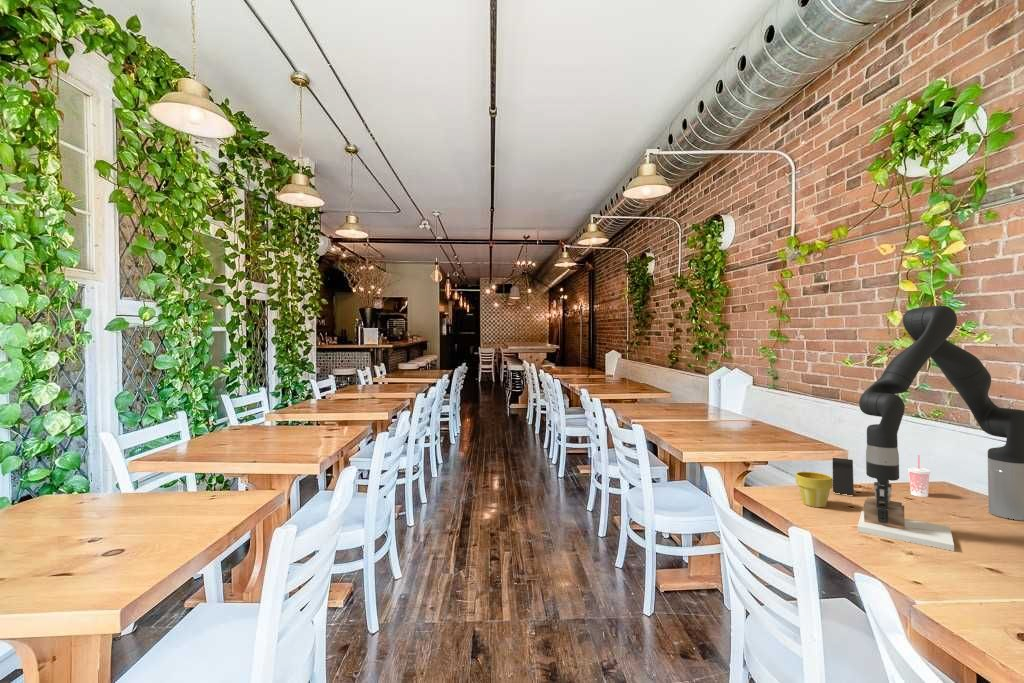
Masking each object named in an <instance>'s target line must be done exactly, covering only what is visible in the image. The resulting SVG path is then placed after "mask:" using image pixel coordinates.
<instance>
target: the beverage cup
mask: <svg viewBox="0 0 1024 683" xmlns="http://www.w3.org/2000/svg"><path fill="white" fill-rule="evenodd" d="M920 458H921V456H920V455H917V467H914V466H913V467H908V468H907V471H908V477H909V487H910V495H912V496H915V497H920V498H921V497H922V498H928V497H929V485H930V474H931V470H930V469H927V468H923V467H922V468H921V465H920V461H921V460H920Z"/></svg>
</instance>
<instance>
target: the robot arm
mask: <svg viewBox="0 0 1024 683" xmlns="http://www.w3.org/2000/svg"><path fill="white" fill-rule="evenodd" d="M957 324H958V317H957V313H956V312H955V310H954V309H953V308H951V307H950V306H947V305H933V306H932V305H930V306H923V307H915V308H911V309H908V310H907V311H906V312H905V313H904V314H903V317H902V325H903V327H904V330H905V331H906V333H907V334H908V335H909V336H910V338H912V339H913V341H914V342H913V343H912V344H910V345H909V346H907V347H906V348H904V350H902V351H901V352H900V353H898V354H897V355H895V356H894V357H893V358H892V360H891V361H890V362H889V363H888V364H887V366H886V368H885V370H884V371H883V373H882V374H881V376H880V378H878V379H877V380H876V381H875V382H873V383H872V385H870V386H869V387H868V388H866V390H865V391H864V392H863V393H862V394H861V395H860V398H859V401H858V405H859V410H860V411H861V412H862V413H863V414H865V415H867V416H870V417H871V416H872V417H880V418H881V419H880V421H879V424H878V423H877V424H876V423H875V424H869V425H868V426H867V428H866V448H865V465H866V467H865V469H866V470H865V472H866V476H867V477H869V478H871V479H876V481H874V482H873V490H874V498H875V499H876V500H877V505H876V507H877V509H878V521H879V522H881V523H888V509H889V507H888V503H889V502H890V501H891V497H892V496H891V493H892V490H893V489H892V488H893V487H892V485H893V484H892V483H890V481H898V480H899V479H900V457H899V456H900V454H899V449H898V447H899V446H898V443H899V442H898V433H899V429H900V427H901V426H900V425H901V423H902V421H903V420H902V419H903V417H904V415H905V408H906V407H905V403H904V401H903V399H902V397H901V396H899V395H898V394H903V393H905V392H907V391H908V389H909V388H910V387H911V385H912V384H913V382H914V380H915V378H916V377H917V375H918V373H919V372H920V371H921V369H922V367H923V366H924V365H925V363H927V361H928V359H929V358H931V360H932V361H933V362H934V363H935V364H936V366H937V367H938V368H939V369H940V371H941V372H942V373H943V375H944V376H945V378H946V379H947V380H948V382H949V383H950V384H951V385H952V386H953V388H954V389H955V390H956V391H957V393H958V394H959V396H960V397H961V398H962V400H963V401H964V402H965V404H966V405H967V407H968V409H969V411H970V413H971V414H972V415H973V418H974V419H975V422H977V425H978V426H979V427H980V429H981V430H982V431H983V432H984V433H986V434H988V435H990V436H994V437H997V438H998V437H999V438H1003V439H1004V438H1005V439H1006V440H1005V444H1004V445H1003V446H997V447H991V448H989V449H988V450H987V487H988V488H987V493H988V495H987V496H988V497H987V498H988V504H987V505H988V513H989V514H992V515H993V516H996V517H998V518H999V517H1000V518H1003V519H1008V518H1009V520H1013V519H1014V521H1021V522H1022V521H1024V410H1023V409H1015V408H1009V407H1006V408H1005V407H999V406H998V405H996V404H995V403H994V402H993V400H992V399H991V398H990V396H989V391H990V388H991V385H992V376H991V374H990V372H989V370H988V369H987V367H985V365H984V364H983V362H982V361H981V360H980V359H979V358H978V357H977V356H975V355H974V354H972V352H969V351H967V350H965V349H963V348H962V347H960V346H958V345H956V344H955V343H952V342H951V341H948V340H947V339H948V338H949V337H950V335H951V334H952V333H953V332H954V330H955V328H956V327H957ZM880 501H882V502H885V503H886V505H881V504H879V502H880Z"/></svg>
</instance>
